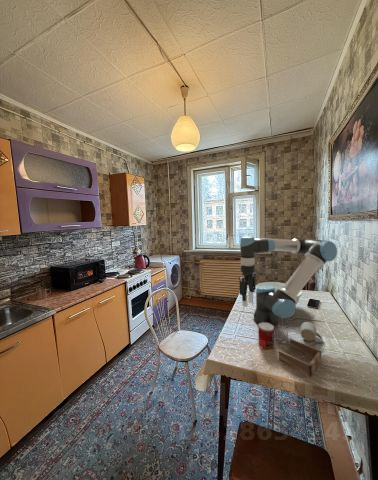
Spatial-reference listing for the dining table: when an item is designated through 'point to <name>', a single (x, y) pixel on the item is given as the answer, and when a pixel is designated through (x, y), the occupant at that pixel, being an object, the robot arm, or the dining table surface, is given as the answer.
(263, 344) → the canned food
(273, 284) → the bowl
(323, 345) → the dining table surface
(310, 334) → the ceramic mug
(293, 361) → the frame
